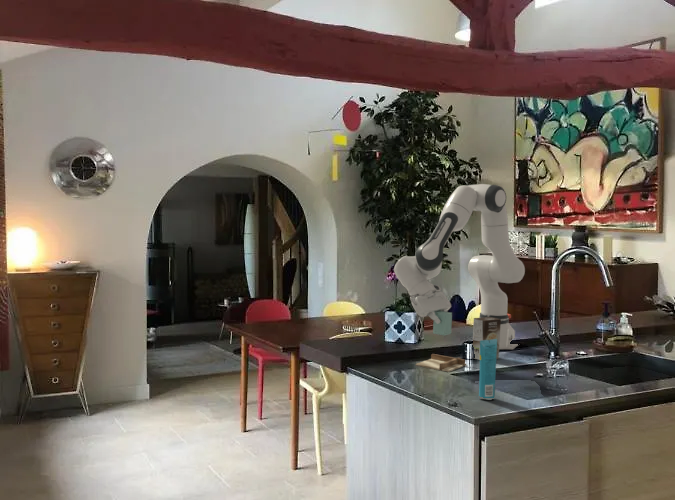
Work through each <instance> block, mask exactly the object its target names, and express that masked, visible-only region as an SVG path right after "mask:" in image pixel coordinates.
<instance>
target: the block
mask: <svg viewBox="0 0 675 500" xmlns="http://www.w3.org/2000/svg"><path fill="white" fill-rule="evenodd" d="M435 315H436V316H437V317H438V318H440V319H441V320H442V322H441V323H440V324H437V323H436V322H435V321H434V320H433V324H432V329H433V330H432V334H433V335H439V336H440V335H441V336H447V335H451V334H452V322H453V312H449V311H447V312H444V311H439V312H435Z"/></svg>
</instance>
